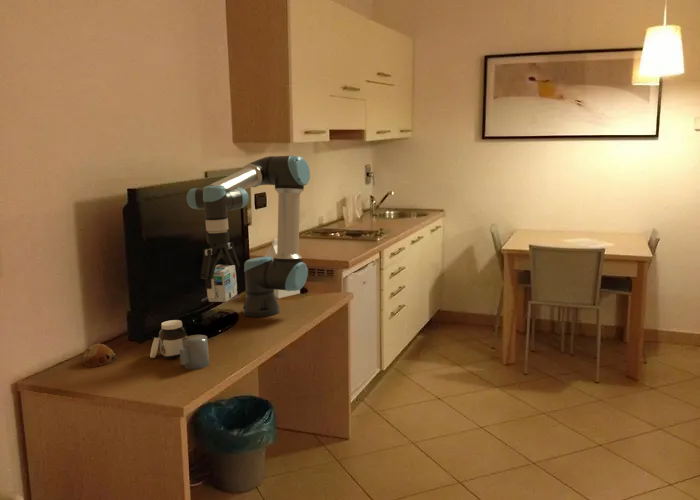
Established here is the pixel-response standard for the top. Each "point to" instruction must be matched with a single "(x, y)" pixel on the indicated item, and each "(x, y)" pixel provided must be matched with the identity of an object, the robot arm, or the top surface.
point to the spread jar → (169, 340)
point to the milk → (272, 252)
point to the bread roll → (97, 355)
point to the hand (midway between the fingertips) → (222, 293)
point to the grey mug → (194, 352)
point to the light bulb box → (224, 283)
